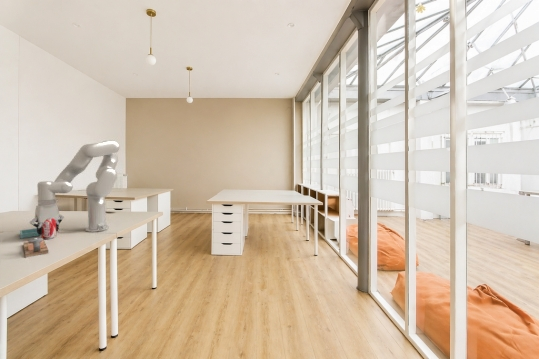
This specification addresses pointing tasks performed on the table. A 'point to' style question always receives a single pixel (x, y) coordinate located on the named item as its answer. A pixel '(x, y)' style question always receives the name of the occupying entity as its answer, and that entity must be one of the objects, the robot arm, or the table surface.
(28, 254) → the tensioner rail
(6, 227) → the table surface
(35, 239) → the tensioner carriage
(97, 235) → the table surface
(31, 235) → the tray
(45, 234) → the soda can
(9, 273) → the table surface
